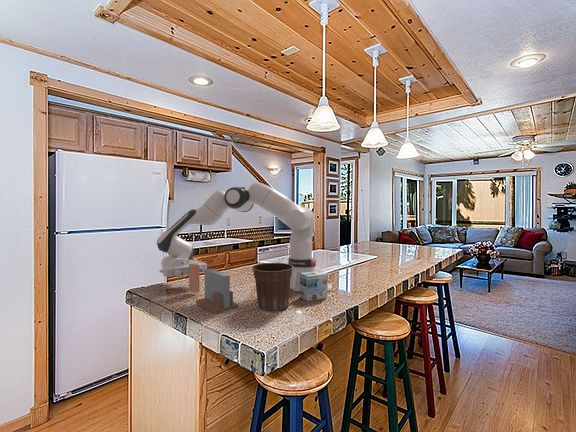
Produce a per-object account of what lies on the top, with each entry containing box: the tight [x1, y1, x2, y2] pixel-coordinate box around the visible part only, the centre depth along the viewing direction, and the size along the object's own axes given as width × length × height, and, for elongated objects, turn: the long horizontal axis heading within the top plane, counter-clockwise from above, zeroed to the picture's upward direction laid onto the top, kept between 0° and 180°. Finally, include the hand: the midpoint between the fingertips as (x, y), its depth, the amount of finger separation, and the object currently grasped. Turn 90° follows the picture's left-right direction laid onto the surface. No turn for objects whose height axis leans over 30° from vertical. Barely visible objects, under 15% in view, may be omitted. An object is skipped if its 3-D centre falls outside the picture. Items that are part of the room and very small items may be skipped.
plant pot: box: [251, 262, 293, 312], centre depth 129 cm, size 16×16×16 cm
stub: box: [188, 263, 200, 294], centre depth 146 cm, size 5×2×12 cm, turn 41°
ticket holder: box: [195, 268, 239, 315], centre depth 130 cm, size 16×10×14 cm, turn 41°
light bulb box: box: [299, 270, 329, 302], centre depth 142 cm, size 11×7×11 cm, turn 117°
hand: (191, 271), depth 148 cm, fingers open, 8 cm apart
